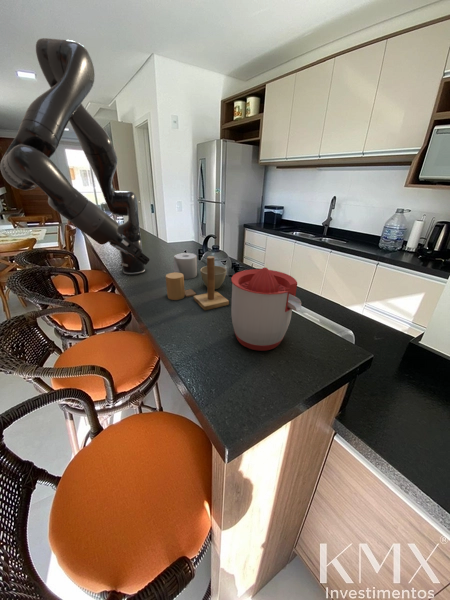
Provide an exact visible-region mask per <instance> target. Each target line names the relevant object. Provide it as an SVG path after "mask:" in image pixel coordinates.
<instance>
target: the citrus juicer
mask: <svg viewBox="0 0 450 600" xmlns="http://www.w3.org/2000/svg"><path fill="white" fill-rule="evenodd" d="M230 281H231V283H232V284H231V309H230V311H231V312H230V313H231V323H232V327H233V332H234V336H235V337H236V340H237V341H238V342H239V344H240V345H241V346H243V347H245V348H247V349H249V350H254V351H259V352H260V351H261V352H262V351H263V352H264V351H265V352H266V351H269V350H273V349H275V348H277V347H278V346H279V345H280V344H281V342H282V341H283V339H284V338H285V335H286V333H287V331H288V329H289V326H290V323H291V319H292V313H293V311H295V312H299V311H301V309H302V301H301V299H300V298H299V297H297V296H296V295H297V288H298V281H297V279H295V277H293V276H291V275H289V274H287V273H285V272H281V271H278V270H273V269H269V268H268V267H263V268H255V269H253V268H252V269H245V270H240V271H238V272H235V273H234V274H233V275H232V276H231V279H230Z"/></svg>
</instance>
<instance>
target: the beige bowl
mask: <svg viewBox="0 0 450 600" xmlns="http://www.w3.org/2000/svg"><path fill="white" fill-rule="evenodd" d="M227 272H228V271H227V268H226V267H224V266H221V265H215V290H218V289H219V288H220V287H221V286H222V285H223V283H224V281H225V279H226V276H227ZM200 275H201V279H202V281H203V284H204V285H205V286H206V287H207V265H206V266H205V265H204V266H203V267H201V268H200Z"/></svg>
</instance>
